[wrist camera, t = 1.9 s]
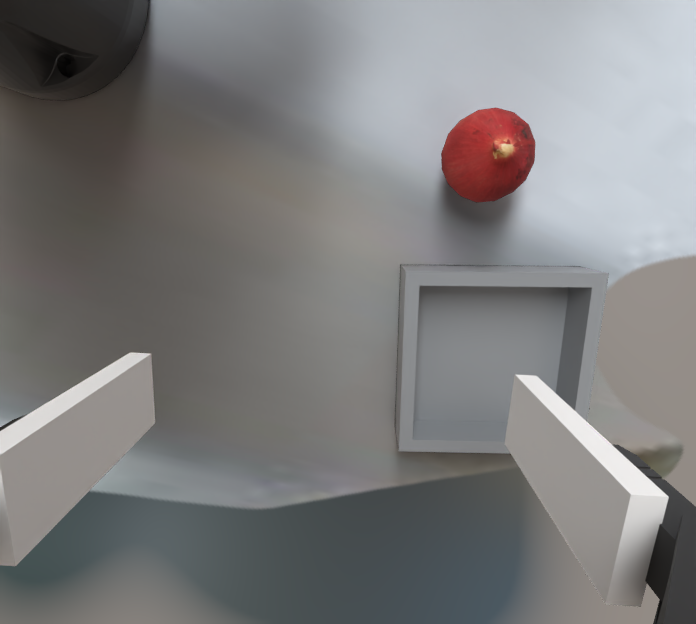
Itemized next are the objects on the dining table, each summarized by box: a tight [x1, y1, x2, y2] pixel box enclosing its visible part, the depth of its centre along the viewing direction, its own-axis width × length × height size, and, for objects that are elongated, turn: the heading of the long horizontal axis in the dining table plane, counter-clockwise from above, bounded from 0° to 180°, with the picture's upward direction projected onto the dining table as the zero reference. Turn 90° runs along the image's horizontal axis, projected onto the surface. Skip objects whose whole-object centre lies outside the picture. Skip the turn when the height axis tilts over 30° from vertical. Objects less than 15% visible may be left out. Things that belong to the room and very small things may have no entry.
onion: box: [441, 108, 535, 202], centre depth 28 cm, size 6×6×8 cm
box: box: [395, 265, 609, 454], centre depth 33 cm, size 14×14×4 cm
